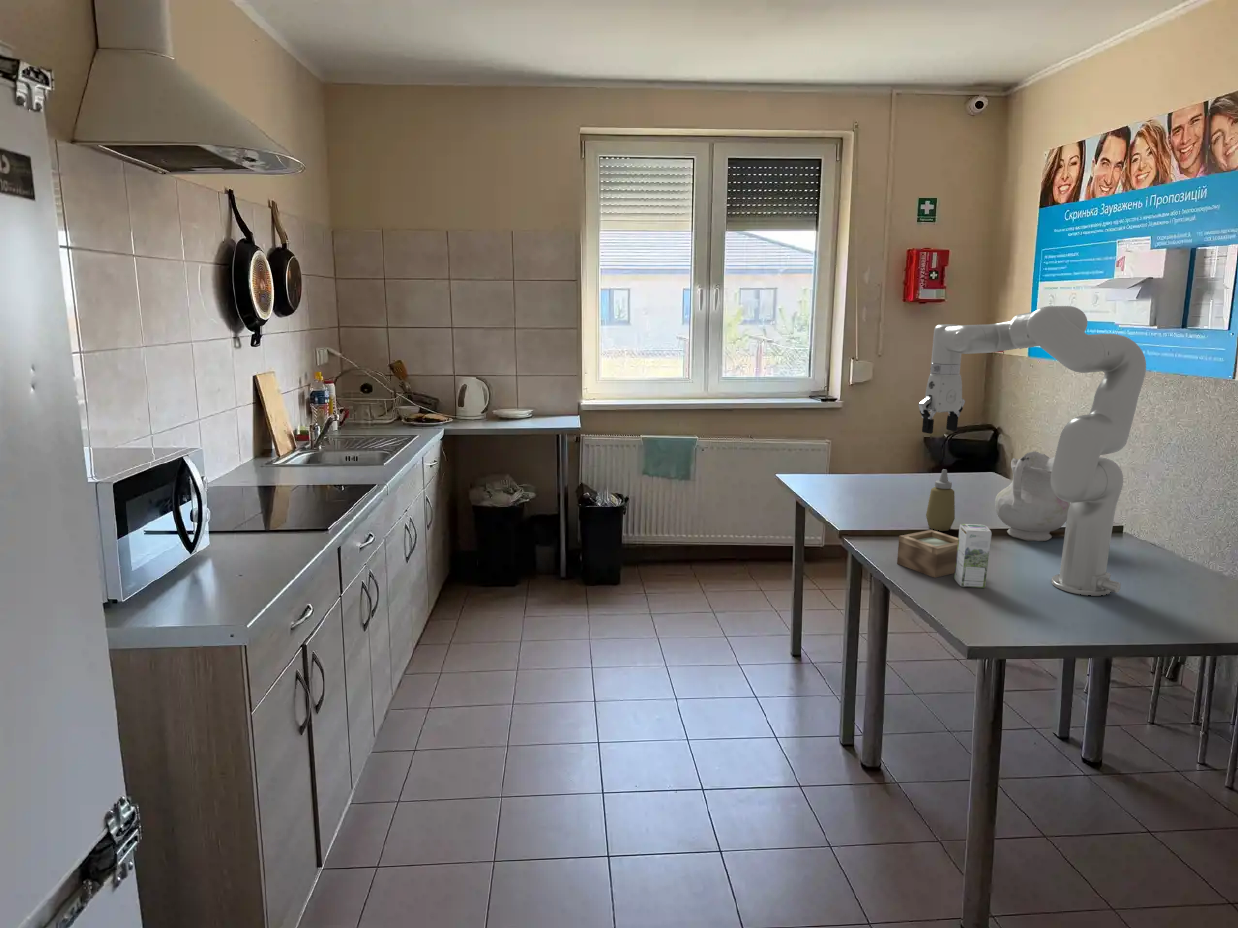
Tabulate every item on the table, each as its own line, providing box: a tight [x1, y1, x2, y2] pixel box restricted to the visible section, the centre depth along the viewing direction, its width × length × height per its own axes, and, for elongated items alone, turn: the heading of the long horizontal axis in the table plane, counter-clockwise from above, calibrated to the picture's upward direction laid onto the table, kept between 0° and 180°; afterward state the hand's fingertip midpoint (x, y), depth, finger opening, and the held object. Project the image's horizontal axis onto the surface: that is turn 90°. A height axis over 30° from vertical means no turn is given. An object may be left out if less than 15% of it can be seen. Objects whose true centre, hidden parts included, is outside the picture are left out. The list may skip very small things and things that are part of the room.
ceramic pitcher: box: [994, 450, 1070, 542], centre depth 235 cm, size 22×20×25 cm
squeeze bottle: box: [925, 468, 956, 532], centre depth 242 cm, size 8×8×18 cm
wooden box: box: [896, 529, 959, 578], centre depth 210 cm, size 12×12×8 cm
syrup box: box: [953, 523, 993, 589], centre depth 197 cm, size 6×6×14 cm
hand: (939, 431), depth 228 cm, fingers open, 9 cm apart
